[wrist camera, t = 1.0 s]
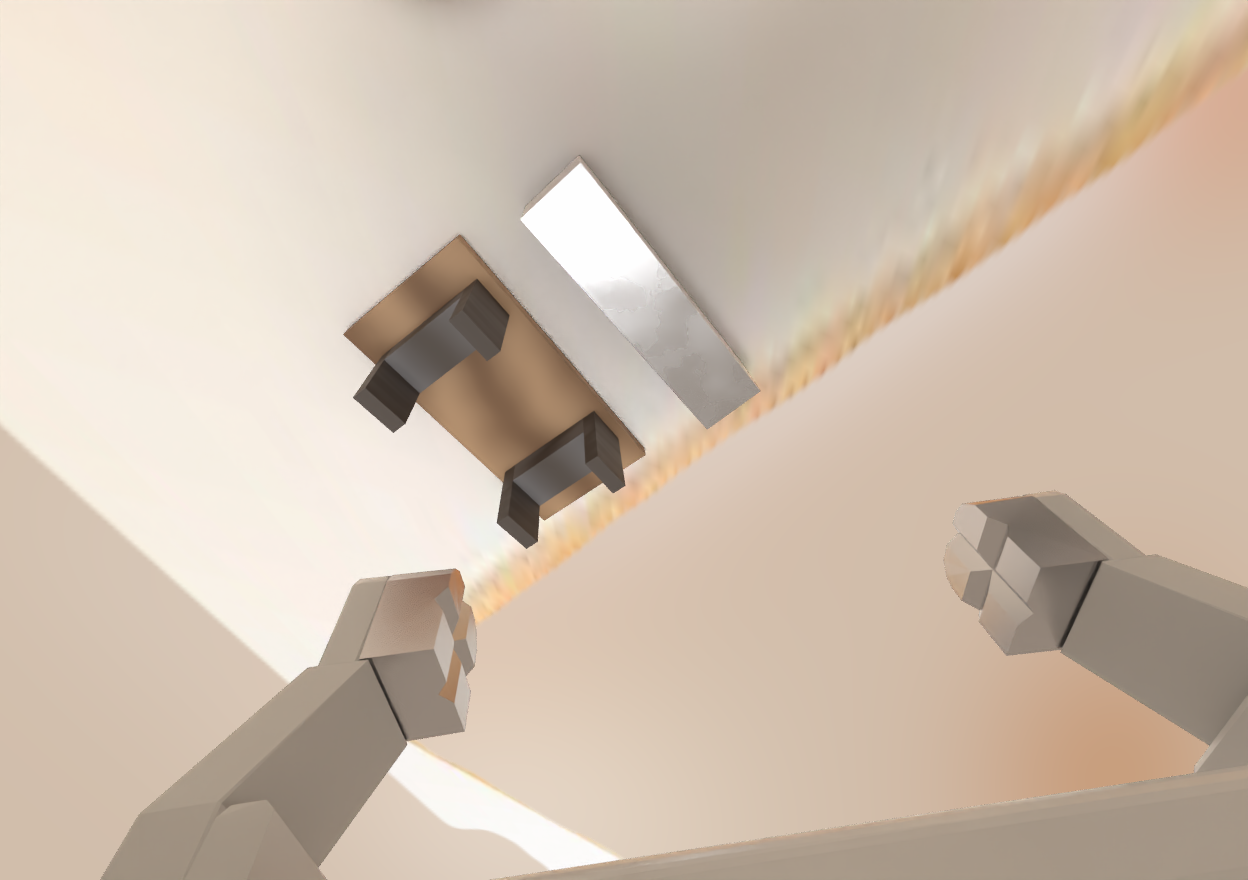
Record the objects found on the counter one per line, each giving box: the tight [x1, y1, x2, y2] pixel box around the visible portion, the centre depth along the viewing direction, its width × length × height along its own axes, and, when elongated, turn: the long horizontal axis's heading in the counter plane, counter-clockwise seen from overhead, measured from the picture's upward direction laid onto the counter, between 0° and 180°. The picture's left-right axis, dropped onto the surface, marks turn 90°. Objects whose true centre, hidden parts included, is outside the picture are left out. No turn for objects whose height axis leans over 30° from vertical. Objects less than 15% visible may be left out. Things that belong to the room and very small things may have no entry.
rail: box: [520, 155, 760, 429], centre depth 37 cm, size 18×4×4 cm, turn 39°
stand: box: [343, 235, 646, 549], centre depth 38 cm, size 10×20×7 cm, turn 36°
